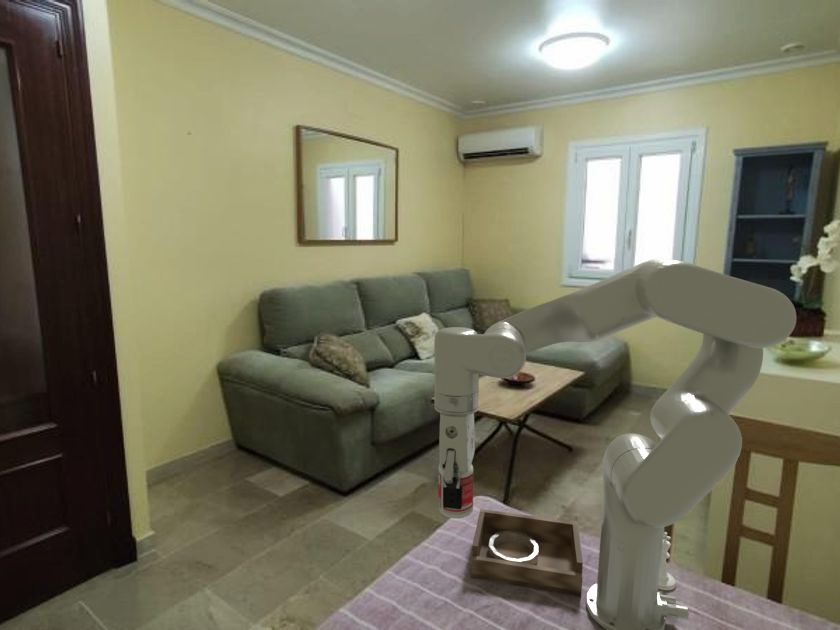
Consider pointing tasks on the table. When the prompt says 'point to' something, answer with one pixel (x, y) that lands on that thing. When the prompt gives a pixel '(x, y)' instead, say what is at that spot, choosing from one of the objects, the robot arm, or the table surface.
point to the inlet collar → (517, 538)
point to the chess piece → (665, 578)
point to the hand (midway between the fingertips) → (455, 496)
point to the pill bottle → (466, 494)
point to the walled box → (529, 553)
